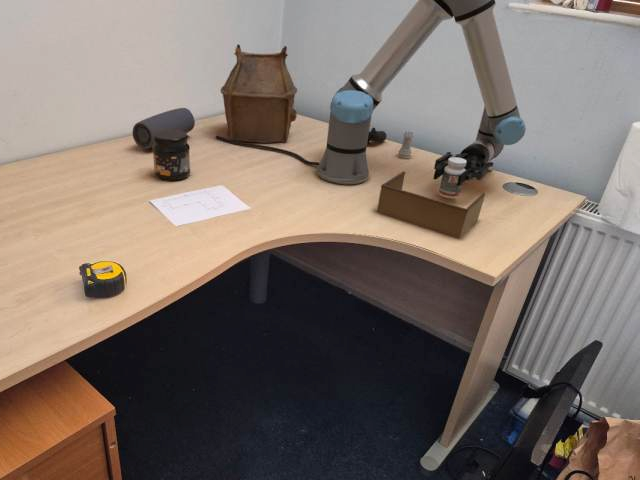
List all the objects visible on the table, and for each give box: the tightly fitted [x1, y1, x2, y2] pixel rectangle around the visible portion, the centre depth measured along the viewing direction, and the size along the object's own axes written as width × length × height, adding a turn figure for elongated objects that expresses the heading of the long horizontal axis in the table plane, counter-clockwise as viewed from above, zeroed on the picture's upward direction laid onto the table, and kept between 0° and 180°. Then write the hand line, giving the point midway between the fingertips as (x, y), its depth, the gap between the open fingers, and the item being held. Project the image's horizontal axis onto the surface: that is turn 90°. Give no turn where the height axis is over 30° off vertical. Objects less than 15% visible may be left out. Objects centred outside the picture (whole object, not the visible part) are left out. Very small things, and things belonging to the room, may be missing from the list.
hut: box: [220, 43, 298, 144], centre depth 179 cm, size 23×27×30 cm
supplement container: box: [151, 130, 191, 182], centre depth 149 cm, size 10×10×12 cm
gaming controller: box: [367, 127, 387, 144], centre depth 184 cm, size 17×6×10 cm
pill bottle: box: [438, 157, 467, 199], centre depth 141 cm, size 6×6×10 cm
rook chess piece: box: [397, 131, 414, 160], centre depth 171 cm, size 4×4×8 cm
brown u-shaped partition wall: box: [376, 171, 486, 239], centre depth 133 cm, size 13×22×8 cm, turn 52°
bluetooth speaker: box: [132, 107, 196, 149], centre depth 173 cm, size 23×9×10 cm, turn 150°
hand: (447, 177), depth 137 cm, fingers closed on pill bottle, 6 cm apart
